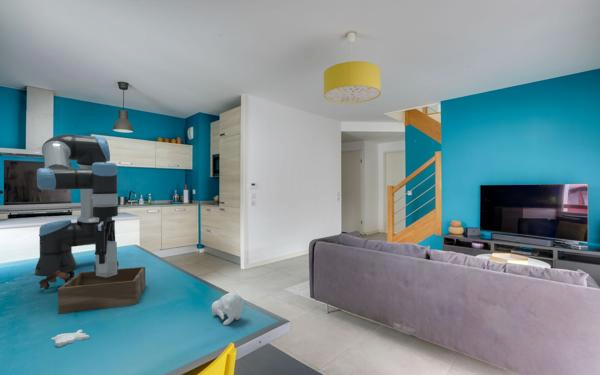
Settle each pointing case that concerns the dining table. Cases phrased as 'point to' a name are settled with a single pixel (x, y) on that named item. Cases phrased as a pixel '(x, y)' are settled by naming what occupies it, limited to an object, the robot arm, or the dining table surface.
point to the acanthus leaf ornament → (69, 338)
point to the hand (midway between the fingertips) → (106, 269)
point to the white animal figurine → (228, 307)
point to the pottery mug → (53, 276)
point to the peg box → (101, 290)
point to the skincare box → (109, 260)
